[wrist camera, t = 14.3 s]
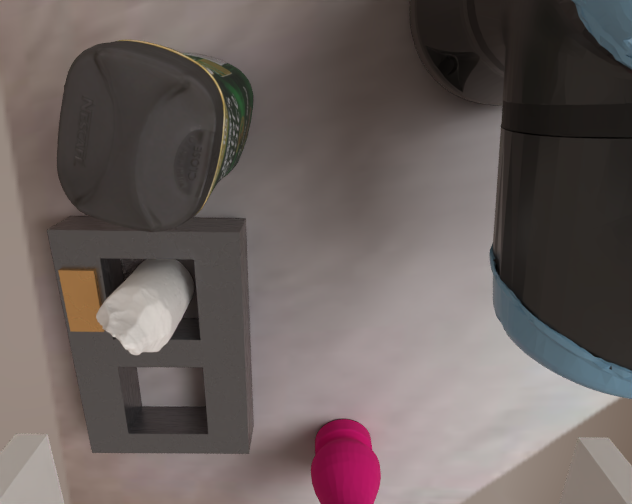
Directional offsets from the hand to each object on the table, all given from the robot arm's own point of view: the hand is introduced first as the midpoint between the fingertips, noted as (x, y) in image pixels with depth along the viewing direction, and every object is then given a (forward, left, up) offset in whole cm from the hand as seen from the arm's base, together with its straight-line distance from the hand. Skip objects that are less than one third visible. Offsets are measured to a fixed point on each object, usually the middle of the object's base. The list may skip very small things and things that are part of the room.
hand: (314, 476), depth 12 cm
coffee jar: (+9, -6, -32) cm, 34 cm away
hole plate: (+14, +15, -32) cm, 38 cm away
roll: (+14, +10, -32) cm, 36 cm away
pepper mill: (-4, +29, -32) cm, 43 cm away
